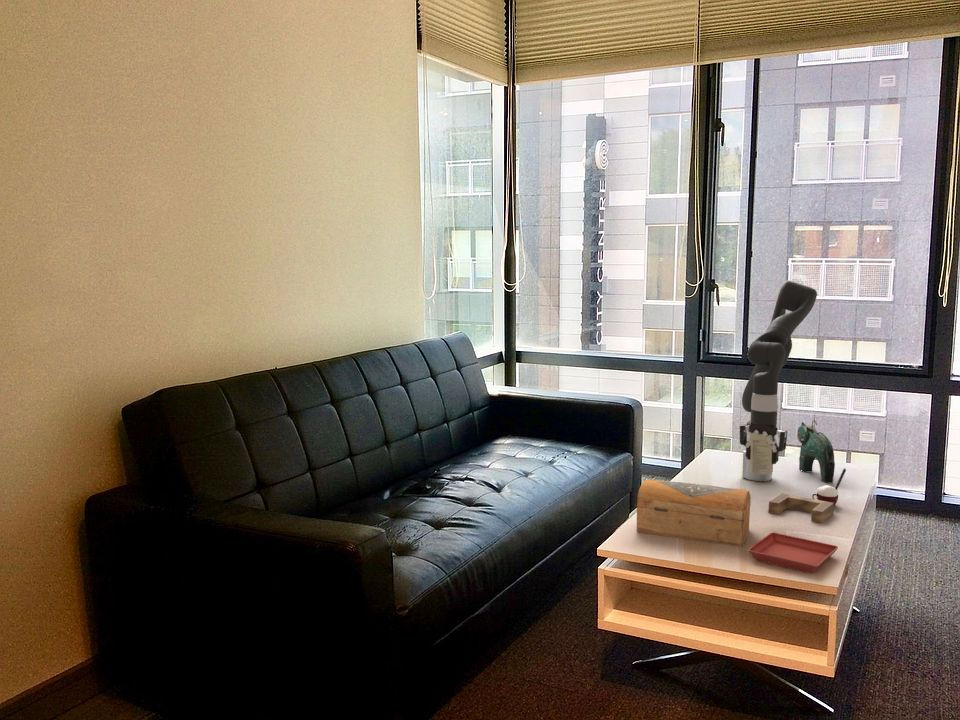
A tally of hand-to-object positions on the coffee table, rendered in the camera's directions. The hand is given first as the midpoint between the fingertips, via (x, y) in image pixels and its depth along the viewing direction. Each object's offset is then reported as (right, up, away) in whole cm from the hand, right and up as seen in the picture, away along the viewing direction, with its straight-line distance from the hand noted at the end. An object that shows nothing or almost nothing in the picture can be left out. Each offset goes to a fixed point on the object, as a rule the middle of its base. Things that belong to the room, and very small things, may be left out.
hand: (761, 461), depth 247 cm
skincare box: (0, -4, +1) cm, 4 cm away
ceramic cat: (+35, -11, +46) cm, 59 cm away
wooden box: (-23, -20, -9) cm, 32 cm away
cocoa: (+26, -16, +13) cm, 33 cm away
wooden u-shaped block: (+14, -17, +6) cm, 23 cm away
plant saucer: (-2, -22, -31) cm, 38 cm away
